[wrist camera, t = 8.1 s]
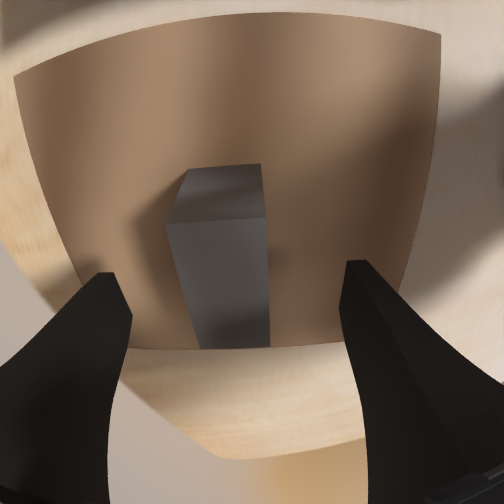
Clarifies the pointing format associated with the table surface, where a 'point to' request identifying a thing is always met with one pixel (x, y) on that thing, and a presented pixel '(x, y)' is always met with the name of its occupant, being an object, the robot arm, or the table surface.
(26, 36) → the table surface
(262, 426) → the table surface
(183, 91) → the lid
